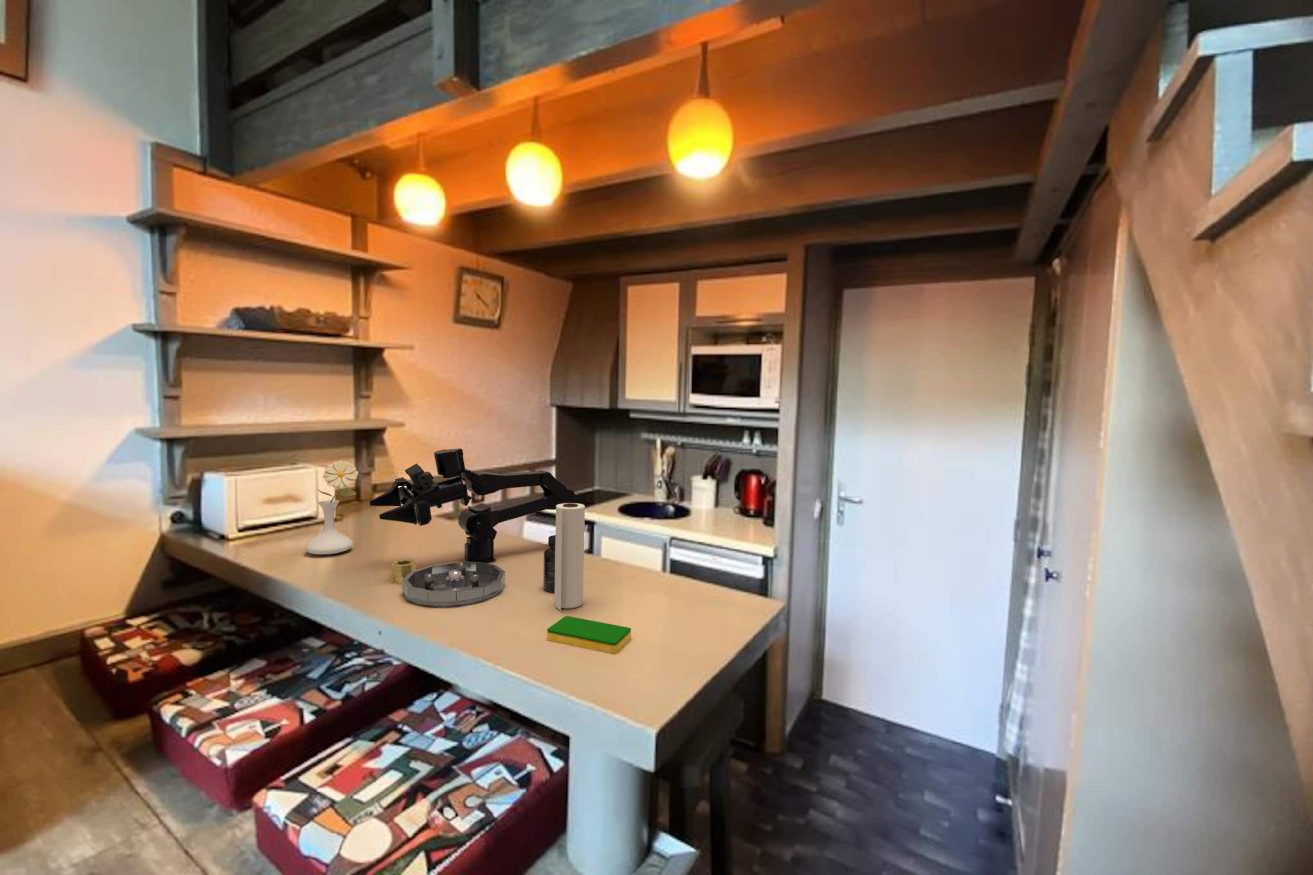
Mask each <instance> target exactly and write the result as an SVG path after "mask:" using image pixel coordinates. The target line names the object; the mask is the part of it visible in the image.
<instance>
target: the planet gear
mask: <svg viewBox="0 0 1313 875" xmlns="http://www.w3.org/2000/svg"><path fill="white" fill-rule="evenodd" d="M390 566H391V567H390V570H391V572H389V573H388V581H389V584H399V585H402V580H403V579H404V578H405V577H406V576H407V575H408V574H409V573H410V572H412V571H415V570H417V562H416V560H414V559H407V558H406V559H399V560H395V561H393V562H391V564H390Z"/></svg>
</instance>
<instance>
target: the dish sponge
mask: <svg viewBox="0 0 1313 875" xmlns="http://www.w3.org/2000/svg"><path fill="white" fill-rule="evenodd" d="M546 631H547V632H546V640H547V641H552V642H555V643H560V644H565V645H570V646H576V647H579V648H584V649H585V648H586V649H589V650H594V651H599V652H603V651H605V652H604V653H608V652H609V654H613V653H615V654H617V653H618V652H619V651H620V650H621V649H622V648H623V647H624V646H625V645H626V644H627V643H628V642H629V641H630V640H631V639H632V628H631V627H629V626H622V625H616V624H612V623H607V622H601V621H596V620H590V619H585V618H580V617H574V616H569V615H565V616H564V617H562V618H560V619H559V620H557V621H556V622H555V623H554V624H552V625H551V626H550V627H548V628H547V629H546ZM623 645H624V646H623Z"/></svg>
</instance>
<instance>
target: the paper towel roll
mask: <svg viewBox="0 0 1313 875" xmlns="http://www.w3.org/2000/svg"><path fill="white" fill-rule="evenodd" d="M585 514H586V506H585V505H584V504H582V503H577V502H575V503H564V504H558V505H556V510H555V535H556V540H555V593H554V606H555V608H556V609H558V610H559V612H560V613H561V612H562V609H576V608H578V607H581V606H582V604H584V571H585V570H584V564H585V561H584V560H585V522H586V520H585V517H586V515H585Z"/></svg>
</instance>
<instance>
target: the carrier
mask: <svg viewBox="0 0 1313 875" xmlns="http://www.w3.org/2000/svg"><path fill="white" fill-rule="evenodd" d="M505 582H506V571H505V570H504V569H503V568H501V567H499V566H498V565H496V564H492V563H488V562H485V563H482V562H468V561H451V562H444V563H439V564H431V565H427V566H425V567H421V568H418V569H416V570H415V571H412V572H410V573H409V574H408V575H407V576H406V577H405V578H404V579H403V580H402V584H401V590H402V591H403V598H404V599H405V601H407V602H409V603H411V604H413V605H415V606H416V605H417V606H420V607H424V608H425V607H427V608H457V607H463V606H469V605H474V604H478V603H482V602H485V601H489V600H491V599H492V598H494V597H497V596H498V595H500V594H501V593H502V591H504V586H505V585H504V584H505Z"/></svg>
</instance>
